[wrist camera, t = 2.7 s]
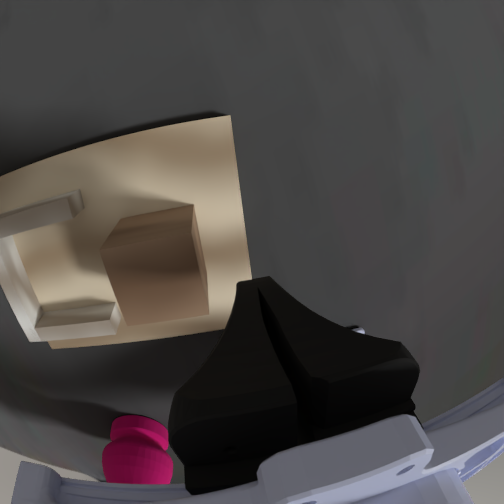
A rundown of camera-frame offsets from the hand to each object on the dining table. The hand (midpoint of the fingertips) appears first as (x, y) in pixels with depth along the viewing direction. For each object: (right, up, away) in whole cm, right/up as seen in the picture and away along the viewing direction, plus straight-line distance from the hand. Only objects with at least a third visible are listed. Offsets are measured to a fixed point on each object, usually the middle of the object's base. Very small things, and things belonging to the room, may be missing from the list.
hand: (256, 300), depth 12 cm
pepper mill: (-12, -17, +15) cm, 26 cm away
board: (-9, +2, +7) cm, 12 cm away
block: (-5, +2, +6) cm, 9 cm away
